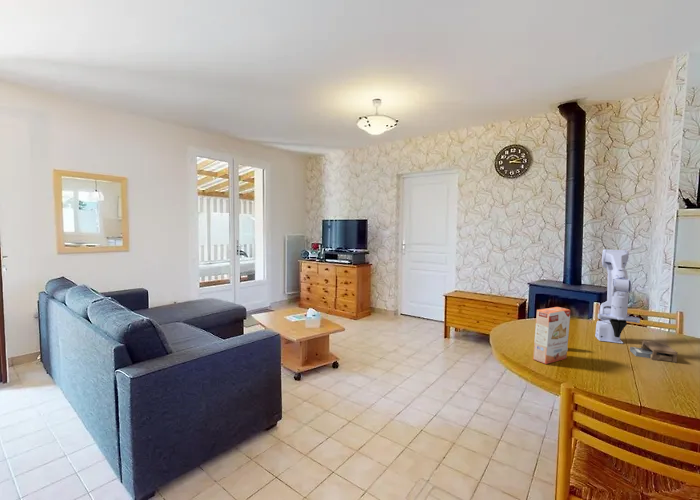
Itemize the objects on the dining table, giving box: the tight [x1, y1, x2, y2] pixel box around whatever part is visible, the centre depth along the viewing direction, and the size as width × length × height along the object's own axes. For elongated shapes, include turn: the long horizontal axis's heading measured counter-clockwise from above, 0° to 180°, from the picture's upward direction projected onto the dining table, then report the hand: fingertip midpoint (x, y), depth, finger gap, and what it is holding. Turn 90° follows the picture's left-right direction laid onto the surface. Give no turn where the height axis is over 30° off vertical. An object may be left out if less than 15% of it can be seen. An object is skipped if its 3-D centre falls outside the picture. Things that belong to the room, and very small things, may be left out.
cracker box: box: [532, 306, 572, 365], centre depth 140 cm, size 14×6×21 cm, turn 117°
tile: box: [629, 346, 668, 359], centre depth 146 cm, size 11×7×2 cm, turn 67°
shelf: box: [640, 340, 678, 364], centre depth 145 cm, size 8×12×4 cm, turn 157°
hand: (616, 336), depth 151 cm, fingers closed
